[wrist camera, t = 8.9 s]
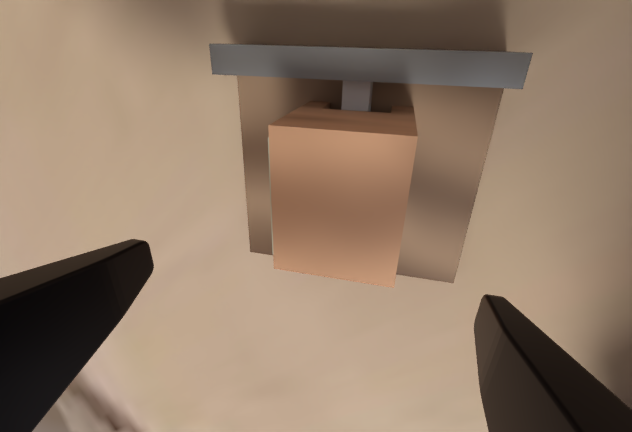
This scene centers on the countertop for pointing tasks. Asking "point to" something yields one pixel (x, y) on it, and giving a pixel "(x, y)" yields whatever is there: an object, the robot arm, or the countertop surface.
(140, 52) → the countertop surface
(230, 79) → the countertop surface
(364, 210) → the tan cube
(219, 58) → the board
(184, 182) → the countertop surface
